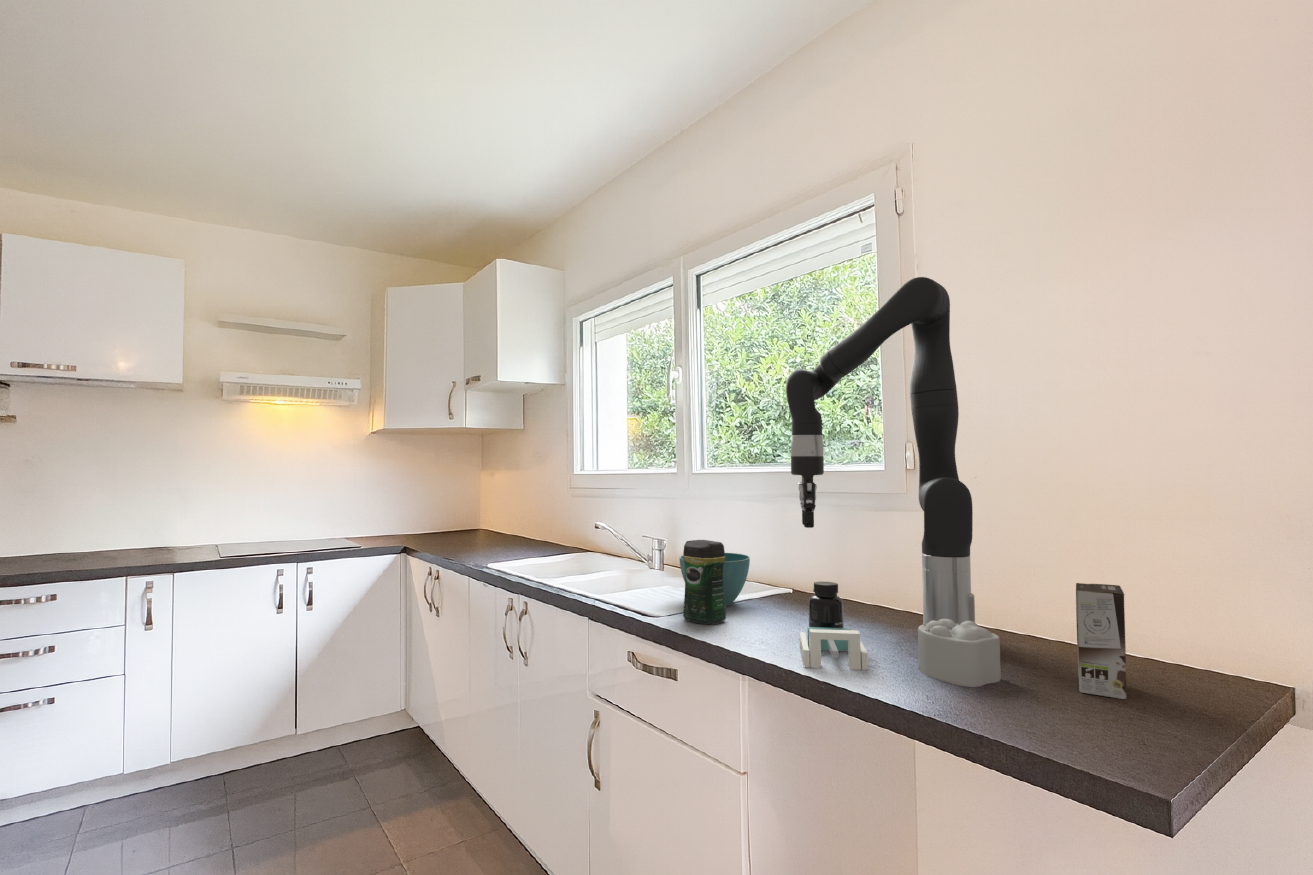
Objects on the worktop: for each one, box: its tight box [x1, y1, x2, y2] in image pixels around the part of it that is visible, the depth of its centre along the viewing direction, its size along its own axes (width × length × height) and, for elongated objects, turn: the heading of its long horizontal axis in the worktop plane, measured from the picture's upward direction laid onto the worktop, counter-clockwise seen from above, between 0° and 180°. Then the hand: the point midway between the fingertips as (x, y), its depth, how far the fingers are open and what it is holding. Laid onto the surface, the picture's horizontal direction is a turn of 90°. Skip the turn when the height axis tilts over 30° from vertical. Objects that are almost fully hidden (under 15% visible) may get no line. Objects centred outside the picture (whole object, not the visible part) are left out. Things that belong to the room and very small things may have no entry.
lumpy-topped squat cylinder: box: [917, 619, 1002, 688], centre depth 116 cm, size 10×13×9 cm
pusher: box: [807, 626, 851, 658], centre depth 125 cm, size 8×12×4 cm, turn 171°
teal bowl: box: [679, 552, 751, 608], centre depth 174 cm, size 18×18×12 cm
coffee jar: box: [682, 539, 727, 625], centre depth 156 cm, size 10×8×19 cm
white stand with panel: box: [799, 629, 869, 671], centre depth 125 cm, size 11×13×6 cm
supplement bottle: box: [808, 581, 844, 628], centre depth 136 cm, size 7×7×12 cm
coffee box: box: [1075, 582, 1127, 700], centre depth 108 cm, size 9×6×16 cm
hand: (807, 525), depth 158 cm, fingers open, 6 cm apart
